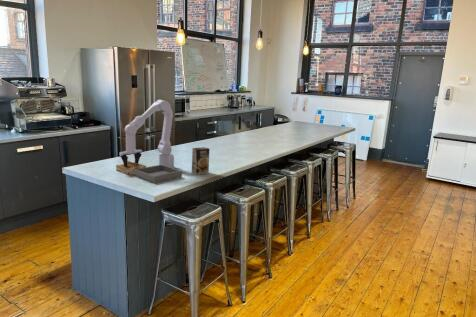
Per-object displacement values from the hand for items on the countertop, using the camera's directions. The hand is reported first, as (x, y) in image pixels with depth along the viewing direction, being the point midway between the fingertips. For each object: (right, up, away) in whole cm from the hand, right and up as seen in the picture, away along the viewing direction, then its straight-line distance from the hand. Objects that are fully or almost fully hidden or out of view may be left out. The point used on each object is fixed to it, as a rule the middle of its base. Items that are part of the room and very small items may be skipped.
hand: (131, 165), depth 226 cm
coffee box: (+43, -5, +3) cm, 43 cm away
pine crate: (0, -3, +1) cm, 3 cm away
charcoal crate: (+19, -6, -9) cm, 22 cm away
